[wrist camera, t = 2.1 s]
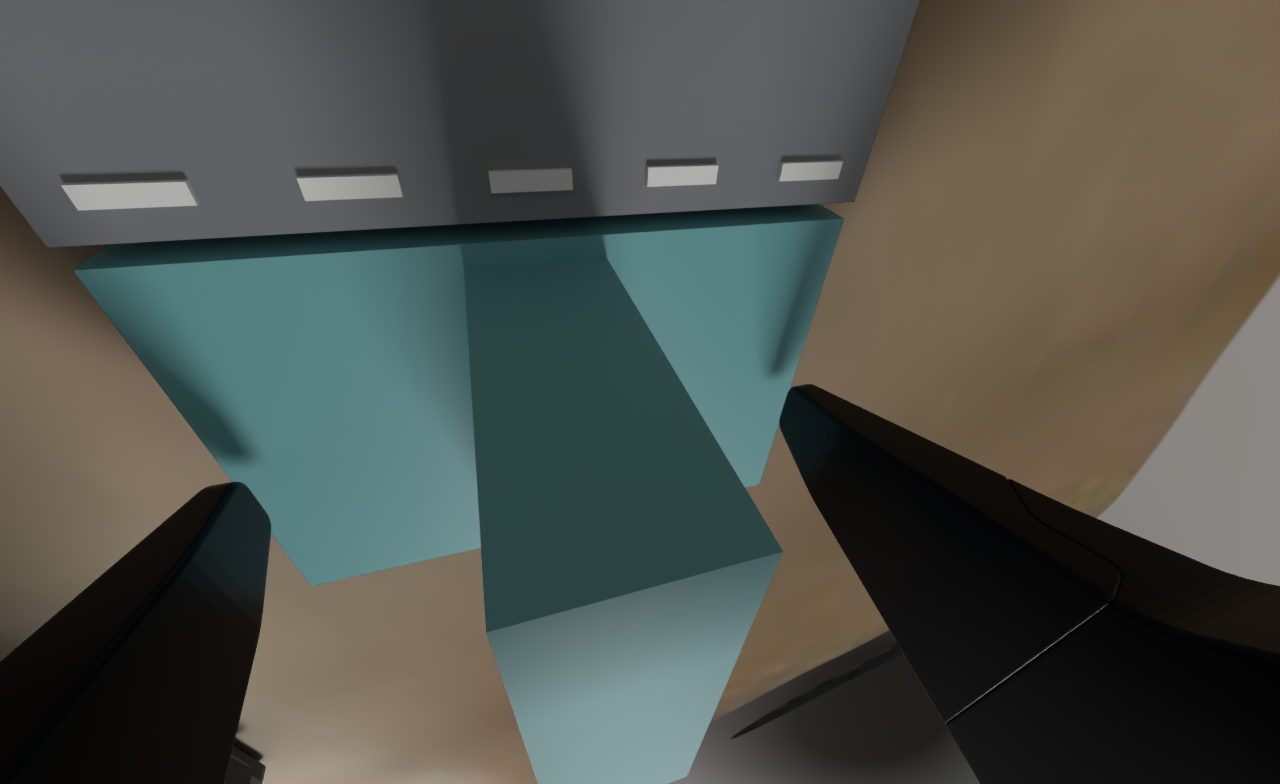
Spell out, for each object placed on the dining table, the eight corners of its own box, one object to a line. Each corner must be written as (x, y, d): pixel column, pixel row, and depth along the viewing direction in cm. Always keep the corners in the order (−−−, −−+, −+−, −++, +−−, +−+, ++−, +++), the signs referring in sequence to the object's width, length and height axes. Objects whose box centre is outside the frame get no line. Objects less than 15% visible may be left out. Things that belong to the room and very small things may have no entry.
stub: (318, 551, 10) (226, 961, 6) (111, 242, 6) (-814, 935, 2) (744, 461, 13) (895, 699, 8) (816, 203, 8) (1195, 418, 4)
